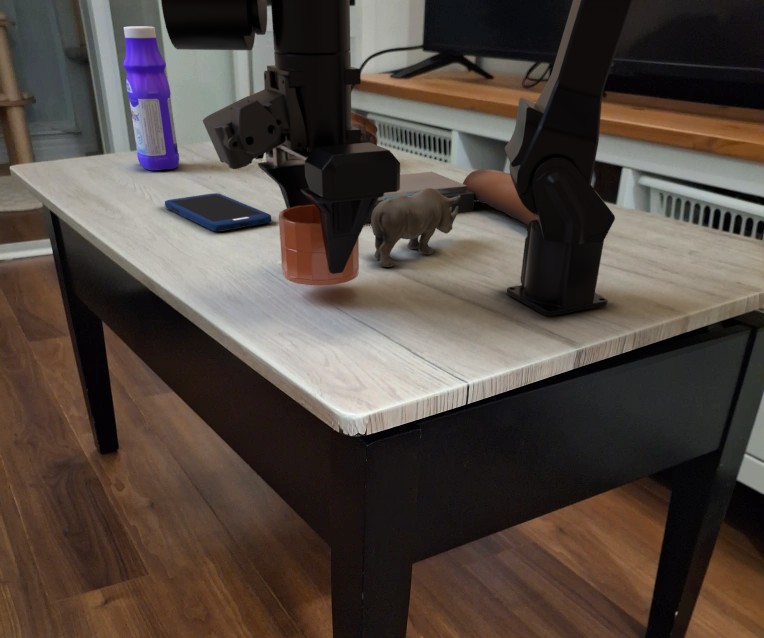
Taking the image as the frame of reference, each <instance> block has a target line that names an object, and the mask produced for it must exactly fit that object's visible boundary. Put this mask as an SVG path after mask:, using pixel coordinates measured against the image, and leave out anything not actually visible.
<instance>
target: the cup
mask: <svg viewBox="0 0 764 638" xmlns="http://www.w3.org/2000/svg"><path fill="white" fill-rule="evenodd" d="M278 227H279V241H280V256H281V259H280V260H281V270H282V275H283V277H284V279H286V280H287V281H289V282H292V283H294V284H299V285H304V286H312V287H313V286H316V287H319V286H321V287H322V286H323V287H325V286H334V285H340V284H345V283H348V282H350V281H351V282H352V281H353V280H355V279H356V278H357V277H358V276H359V274H360V273H359V269H360V267H359V266H360V255H359V254H360V253H359V250H360V249H359V246H360V244H359V238H360V237H358V239H357V242H356V244H355V246H354V248H353V251H352V253H351V255H350V257H349V260H348V262H347V264H346V266H345V268H344V271H343V272H342V273H337V274H332V273H331V272H330V271H329V267H328V262H327V257H326V252H325V245H324V239H323V233H322V227H321V221H320V214H319V210H318V208H317V207H316V206H315V205H314V204H312V205H311V204H310V205H301V206H295V207H291V208H287V207H286V208H285V209H283V210H281V211H279V214H278Z"/></svg>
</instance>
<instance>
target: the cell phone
mask: <svg viewBox="0 0 764 638" xmlns="http://www.w3.org/2000/svg"><path fill="white" fill-rule="evenodd" d="M164 206H165V209H167V210H169V211H171V212H174V213H176V214H178V215H179V216H181V217H184V218H186V219H188V220H190V221H192V222H194V223H197V225H200V226H203V228H206V229H208V230H210V231H213V232H224V231H229V230H235V229H236V230H237V229H240V228H241V229H242V228H248V227H253V226H258V225H264V224H269V223H271V222H272V215H271V214H270V213H268V212H266V211H263V210H261V209H258V208H256V207H253V206H251V205H249V204H246V203H243V202H241V201H238V200H236V199H234V198H232V197H229V196H227V195H225V194H221V193H220V192H219V193H218V192H217V193H206V194H200V195H192V196H184V197H179V198H172V199H166V200H164Z"/></svg>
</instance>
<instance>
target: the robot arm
mask: <svg viewBox="0 0 764 638" xmlns="http://www.w3.org/2000/svg"><path fill="white" fill-rule="evenodd" d="M267 2H268V1H267V0H160V3H161V9H162V16H163V21H164V24H165V29H166V32H167V35H168V38H169V41H170V43H171V44H172V46H173V47H174V49H176V50H183V51H185V50H186V51H187V50H188V51H189V50H190V51H191V50H192V51H193V50H196V51H198V50H199V51H252V50H253V48H254V45H255V39H256V35H258V36H265V35H266V33H267V28H268V3H267ZM350 2H351V0H270V6H271V7H270V8H271V22H272V23H271V24H272V39H273V55H274V65H266V70H263V71H264V72H263V81H264V82H263V84H264V87H263V88H264V89H261V90H260V91H258V92H255V93H252V94H250V95H248V96H245V97H243V98H241V99H239V100H236V101H234V102H233V103H231V104H229V105H227V106H224V107H222V108H221V109H219V110H217V111H215V112H212V113H210V114H209V115H207V116H206V117H203V120H202V123H203V125H204V128H205V130H206V132H207V134H208V136H209V139H210V141H211V143H212V145H213V148H214V150H215V152H216V155H217V156H218V159H219V161H220V162H221V163H225V164H226V165H227V166H228V167H229V168H230V169H232V170H238V169H241V168H245V167H246V166H249V165H251V164H252V163H253V160H254V159H255V160H263V159H264V156H265V161H261V162H257V167H258V168H259V169H260V170H261V171H262V172H264V173H265V174H266V175H267V176H268V177H269V178H270V179H272V181H274V182H275V183H276V184H277V186H278V187H279V189H280V193H281V195H282V198H283V201H284V205H285V207H286V209H287V208H291V207H295V206H301V205H310V204H311V205H312V204H314V205H315V206H316V207H317V208H318V210H319V214H320V221H321V227H322V233H323V239H324V245H325V252H326V257H327V262H328V267H329V271H330V272H331V273H332V274H337V273H342V272H343V271H344V268H345V266H346V264H347V262H348V260H349V257H350V255H351V253H352V251H353V248H354V246H355V244H356V242H357V239H358V238H360V235H361V233H362V231H363V228H364V226H365V225H366V224H367V223H366V221H367V219H368V217H369V215H370V213H371V211H372V209H373V207H374V205H375V204H376V202H377V200H378V198H379V197H383V196H384V193H388V192H397V191H398V190H400V175H401V161H399V159H397V157H396V156H395V155H394V154H393V153H392V151H391V150H390V149H388V148H385V147H382V146H380V145H378V144H377V145H375V144H372V143H361V129H358V128H355V127H353V126H351V112H352V86H353V85H361V83H362V82H361V80H362V79H361V75H362V74H361V73H362V72H361V68H358V67H354V66H352V65H351V64H352V62H351V61H352V60H351V59H352V58H351V56H352V55H351V53H352V52H351V3H350ZM633 2H634V0H572V3H571V6H570V10H569V13H568V17H567V20H566V23H565V27H564V31H563V34H562V37H561V41H560V44H559V47H558V51H557V53H556V57H555V60H554V64H553V67H552V71H551V74H550V76H549V78H548V80H547V82H546V84H545V86H544V88H543V89H542V90H541V92H540V95H538V98H537V100H536V101H535V102H533V101H531V100H529V99H527V98H524V97H523V96H521V97H520V98H519V99H518V105H517V112H516V119H515V126H514V131H513V133H512V135H511V137H510V140H509V141H508V142H507V144H506V145H505V146H504V151H505V154H506V157H507V159H508V161H509V166H508V167H509V172H510V173H509V174H510V175H511V179H512V181H513V184H514V186H515V189H516V191H517V194H518V196H519V198H520V200H521V202H522V204H523V205H524V206H525V207H526V208H527V209H528V210H529V211H530V212H531V213H533V214H534V215H535V216H536V219H537V220H531V221H529V223H528V224H527V232H526V237H525V238H524V247H523V256H522V264H521V273H520V285H519V284H518V285H515V286H508V287H506V293H505V294H506V295H507V296H510V297H511V298H514V299H515V300H517V301H519V302H520V303H522V304H523V305H526V306H528V307H530V308H531V309H533V310H535V311H536V312H539V313H540V314H542V315H544V316H547V317H552V316H558V315H563V314H569V313H570V314H571V313H574V312H575V313H576V312H580V311H586V310H590V309H597V308H602V307H606V306H608V301H609V300H608V298H606V297H605V296H602V295H600V294H598V293H596V289H597V284H598V278H599V272H600V267H601V266H600V265H601V260H602V254H603V249H604V244H605V243H604V242H605V239H606V237H607V235H608V233H609V232H610V230H611V228H612V226H613V224H614V222H615V220H616V217H615V214H614V213H613V212H612V210H611V209H610V207H609V206H608V205H607V204H606V202H605V201H604V200H603V199H602V197H601V196H600V195H599V193H598V192H597V191H596V189H595V188H594V186H593V185H592V181H593V177H594V176H593V175H594V170H595V164H596V160H597V159H596V158H597V153H598V149H599V148H598V147H599V143H600V142H599V141H600V129H601V118H602V117H601V116H602V105H603V104H602V102H603V96H604V90H605V86H606V84H607V80H608V77H609V74H610V72H611V68H612V66H613V62H614V59H615V57H616V53H617V50H618V48H619V45H620V41H621V39H622V36H623V33H624V29H625V26H626V24H627V20H628V17H629V14H630V11H631V8H632V5H633Z"/></svg>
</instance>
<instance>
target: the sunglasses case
mask: <svg viewBox="0 0 764 638" xmlns="http://www.w3.org/2000/svg"><path fill="white" fill-rule="evenodd" d="M462 184H464V185H466V186H467V189H466V190H468V191H470V192H473V193H474V202H479V203H482V204H486V205H488V206H489V207H492V208H494V209H495V210H497V211H499V212H503V213H505V214H506V215H508V216H509V217H511V218H513V219H516V220H518V221H520V222H522V223H523V224H525V225H528V223H529V221H531V220H537V219H536V216H535V215H534V214H533V213H531V212H530V211H529V210H528V209H527V208H526V207H525V206H524V205H523V204H522V202H521V200H520V198H519V196H518V194H517V191H516V189H515V186H514V184H513V181H512V179H511V175H510V173H509V172H504V171H501V170H496V169H489V168H488V169H486V168H485V169H483V168H482V169H476V170H473V171H471V172H470V173H468V175H466V177H465V178H464V179H463V181H462Z"/></svg>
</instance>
